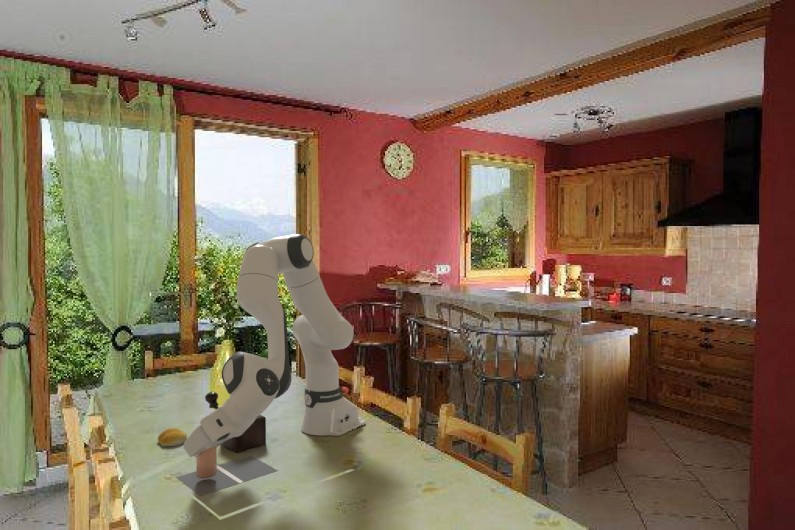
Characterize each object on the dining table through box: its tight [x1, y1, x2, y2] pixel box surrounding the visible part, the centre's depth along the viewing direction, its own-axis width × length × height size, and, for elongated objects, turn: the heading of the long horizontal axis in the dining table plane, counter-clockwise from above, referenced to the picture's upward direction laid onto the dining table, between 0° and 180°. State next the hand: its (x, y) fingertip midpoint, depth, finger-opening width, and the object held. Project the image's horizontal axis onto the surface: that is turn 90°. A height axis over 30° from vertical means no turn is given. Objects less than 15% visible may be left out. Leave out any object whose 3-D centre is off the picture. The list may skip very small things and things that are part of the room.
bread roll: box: [157, 427, 188, 447], centre depth 172 cm, size 8×9×4 cm
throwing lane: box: [175, 454, 279, 497], centre depth 147 cm, size 22×15×1 cm
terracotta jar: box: [195, 446, 218, 478], centre depth 143 cm, size 5×5×12 cm
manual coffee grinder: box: [204, 391, 267, 454], centre depth 167 cm, size 16×11×18 cm
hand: (204, 450), depth 143 cm, fingers closed on terracotta jar, 5 cm apart
